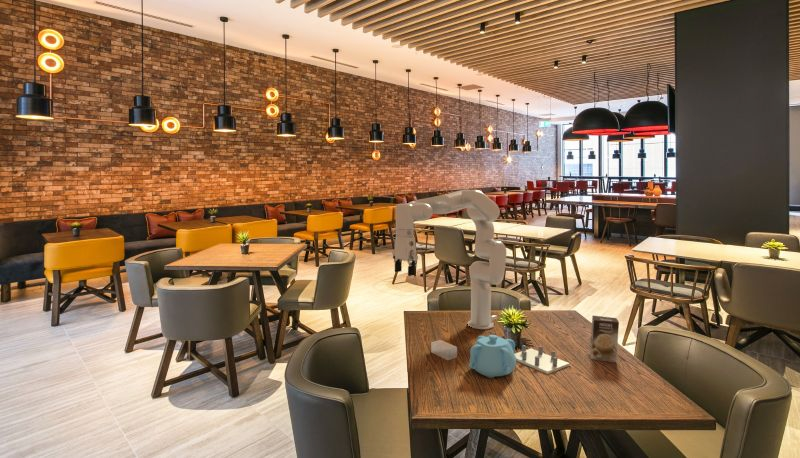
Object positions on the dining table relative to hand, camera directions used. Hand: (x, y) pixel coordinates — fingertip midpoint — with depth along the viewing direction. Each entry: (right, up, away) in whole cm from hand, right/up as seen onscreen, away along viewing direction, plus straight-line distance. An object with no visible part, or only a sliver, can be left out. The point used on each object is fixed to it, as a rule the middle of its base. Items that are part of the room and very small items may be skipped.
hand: (404, 273), depth 183 cm
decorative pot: (+32, -34, -23) cm, 52 cm away
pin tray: (+52, -33, -15) cm, 63 cm away
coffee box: (+78, -33, -11) cm, 86 cm away
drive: (+16, -32, -8) cm, 37 cm away
